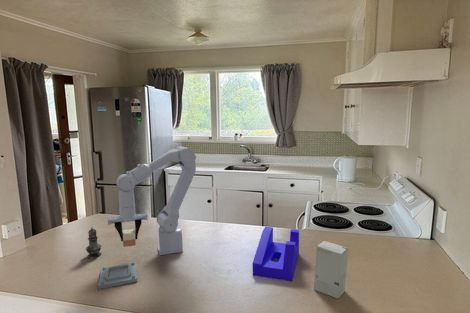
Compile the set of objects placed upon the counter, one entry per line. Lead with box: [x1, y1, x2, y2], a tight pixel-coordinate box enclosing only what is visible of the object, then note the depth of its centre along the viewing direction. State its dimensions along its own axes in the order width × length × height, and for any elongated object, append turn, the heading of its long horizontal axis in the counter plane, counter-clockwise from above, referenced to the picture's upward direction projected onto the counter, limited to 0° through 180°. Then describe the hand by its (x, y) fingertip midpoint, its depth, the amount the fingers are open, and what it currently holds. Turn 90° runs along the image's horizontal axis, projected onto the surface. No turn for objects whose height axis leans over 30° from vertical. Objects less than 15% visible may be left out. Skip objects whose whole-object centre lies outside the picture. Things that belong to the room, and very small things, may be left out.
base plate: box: [97, 261, 138, 289], centre depth 108 cm, size 12×12×2 cm
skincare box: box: [313, 240, 349, 299], centre depth 96 cm, size 8×6×15 cm
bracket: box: [252, 226, 300, 282], centre depth 114 cm, size 21×14×10 cm, turn 162°
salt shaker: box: [85, 226, 102, 259], centre depth 123 cm, size 6×6×12 cm
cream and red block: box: [122, 228, 137, 248], centre depth 119 cm, size 4×4×5 cm
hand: (129, 239), depth 119 cm, fingers closed on cream and red block, 4 cm apart
